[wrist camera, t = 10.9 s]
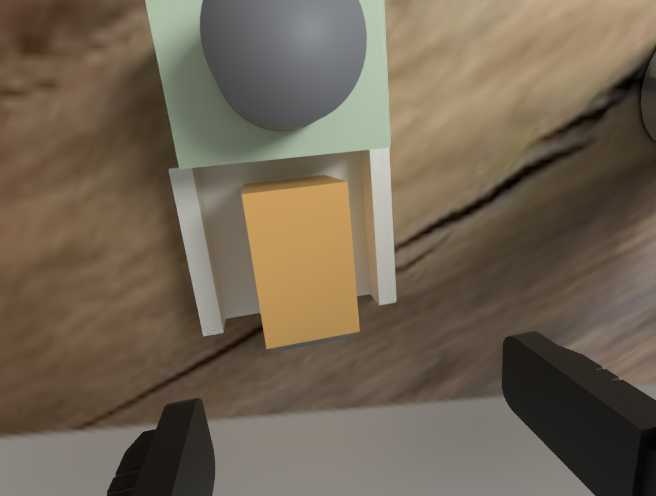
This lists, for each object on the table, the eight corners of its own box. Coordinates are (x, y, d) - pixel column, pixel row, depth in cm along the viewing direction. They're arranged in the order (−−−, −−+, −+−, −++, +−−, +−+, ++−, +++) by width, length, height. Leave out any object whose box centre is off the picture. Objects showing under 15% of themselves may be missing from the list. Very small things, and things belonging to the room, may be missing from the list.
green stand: (368, 26, 22) (456, -69, 13) (383, 289, 27) (456, 364, 17) (151, 36, 20) (59, -68, 11) (208, 318, 25) (179, 423, 15)
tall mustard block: (324, 174, 23) (347, 181, 18) (336, 302, 26) (360, 344, 20) (244, 183, 22) (241, 194, 17) (265, 314, 25) (268, 362, 19)
